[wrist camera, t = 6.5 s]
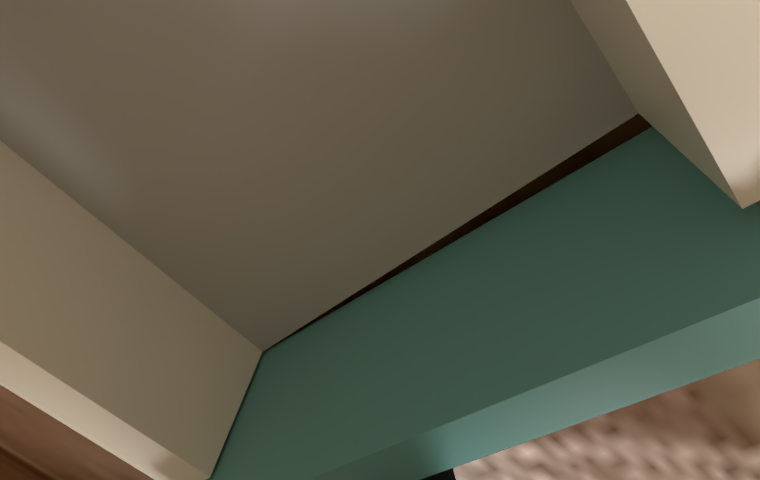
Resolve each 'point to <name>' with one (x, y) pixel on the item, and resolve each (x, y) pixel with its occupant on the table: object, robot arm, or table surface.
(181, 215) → the bay
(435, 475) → the robot arm
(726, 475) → the table surface
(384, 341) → the gate
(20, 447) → the table surface
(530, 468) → the table surface
